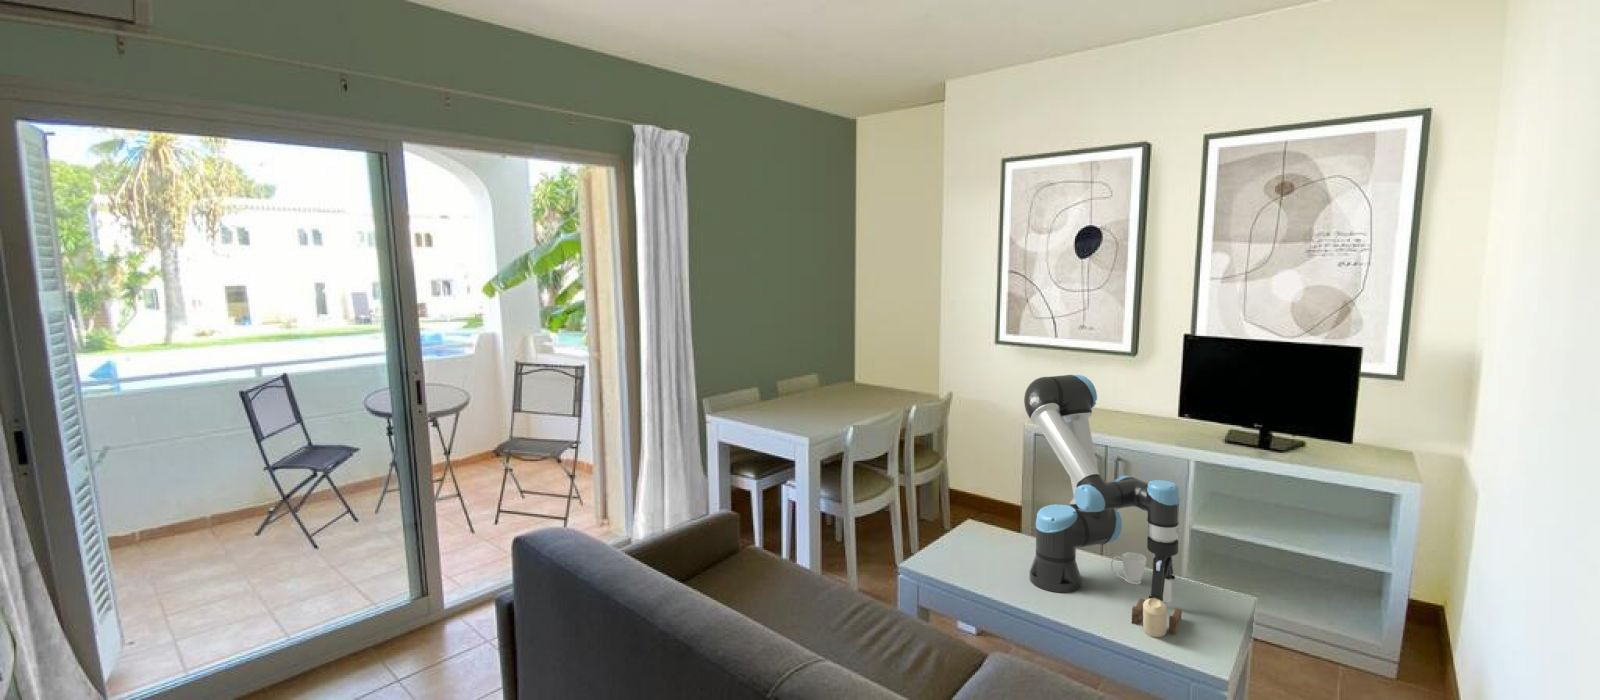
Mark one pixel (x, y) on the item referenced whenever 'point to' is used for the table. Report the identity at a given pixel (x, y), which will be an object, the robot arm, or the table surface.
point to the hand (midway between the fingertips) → (1161, 611)
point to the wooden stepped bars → (1173, 620)
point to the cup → (1132, 567)
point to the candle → (1154, 617)
